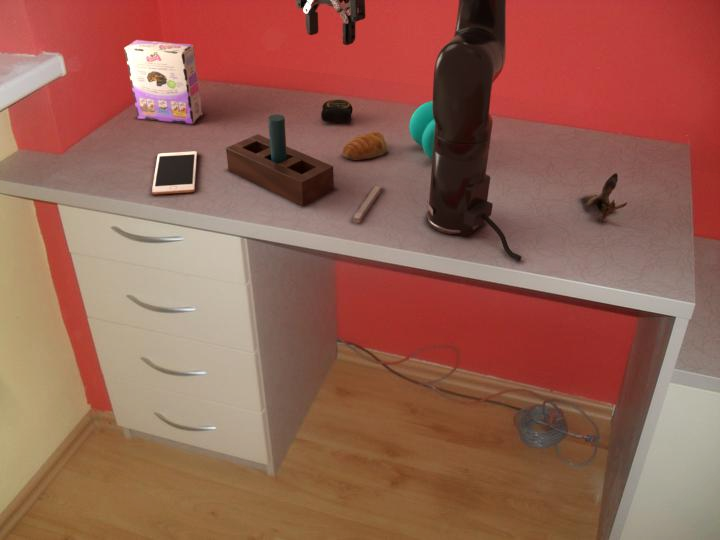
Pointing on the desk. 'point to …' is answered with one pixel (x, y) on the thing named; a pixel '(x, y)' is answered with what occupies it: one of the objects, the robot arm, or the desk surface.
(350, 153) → the pastry
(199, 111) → the candy box
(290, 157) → the hole block
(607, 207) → the eagle figurine
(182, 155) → the cell phone
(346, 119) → the tape measure
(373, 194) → the beige square stick
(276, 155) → the peg
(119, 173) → the desk surface
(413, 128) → the turquoise lobed shape
